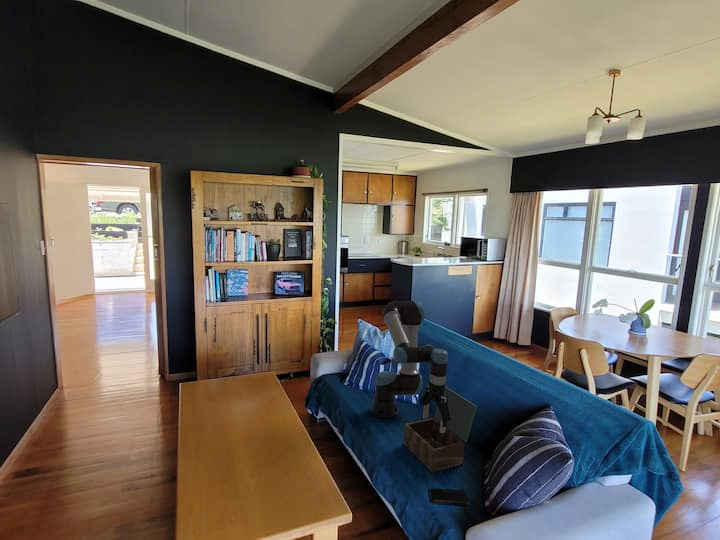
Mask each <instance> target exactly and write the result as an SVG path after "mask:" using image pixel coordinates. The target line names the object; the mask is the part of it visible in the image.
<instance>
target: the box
mask: <svg viewBox="0 0 720 540" xmlns="http://www.w3.org/2000/svg"><path fill="white" fill-rule="evenodd" d="M403 431H404V433H403V446H405V447H406V448H407V449H408V450H409V451H410V452H411V454H413V455H414V456H415V457H416V458H417V459H418V461H420V462H421V464H423V465H424V466H425V467H426V468H427V470H429V472H431V473H432V474H433V473H437V472H439V471H440V472H441V471H444V470H447V469H446V468H448V469H450V468H449V467H451V468H454V467H453V466H455V467H458V466H461V464H462V465H463V463H464V455H465V454H464V453H465V442H464V441H463V440H462V439H461V438H459V437H458V436H457V435H455V434H454V433H453V432H452V431H450V430H449V429H448V428H446V432H444V433H440V422H439V421H438V420H436V419H435V418H434V417H433V418H426V419H423V420H418V421H414V422H407V423H405V424H404V430H403ZM432 438H433V439H434V440H435V441H437V442H439V443H441V445H444V446H443V447H440V448H436V449H434V448H433V447H432V446H431V445H430V444H429V443H427V441H430V440H431V439H432ZM457 465H458V466H457ZM443 469H444V470H443Z"/></svg>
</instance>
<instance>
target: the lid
mask: <svg viewBox="0 0 720 540" xmlns="http://www.w3.org/2000/svg"><path fill="white" fill-rule="evenodd" d="M443 397H444V398H447V399H448V408H449V413H450V418H451V420H449V421H447V426H446V429H448V430H449V431H450V432H451V433H453V434H454V435H455V436H457V437H458V438H459V439H460V440H462V441H463V442H464V443H467V442H468V440H469V439H468V438H469V436H470V432H471V429H472V425H473V422H474V419H475V416H476V412H477V408H478V406H477V405H475V404H474V403H472V402H470V401H469V400H467V399H466V398H465V397H463V396H461V395H460V394H459V393H456V392H455V391H454V390H452V389H450V388H449V387H447V386H446V385H445V392H444V393H443ZM439 403H441V402H439ZM433 418H434V419H435V420H436V421H438V422H439V423H441V419H442V417H441V414H440V411H439V408H438V406H437V405H436V409H435V412H434V416H433Z"/></svg>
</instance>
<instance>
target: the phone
mask: <svg viewBox="0 0 720 540" xmlns="http://www.w3.org/2000/svg"><path fill="white" fill-rule="evenodd" d="M428 494H429V498H430V502H431V503H432V504H441V505H442V504H443V505H455V506H456V505H457V506H465V507H466V506H467V507H468V506H469V505H470V501H469V498H468V494H467V492H466V491H465V490H462V489H451V488H450V489H449V488H435V487H430V488H428Z"/></svg>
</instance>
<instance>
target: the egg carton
mask: <svg viewBox="0 0 720 540" xmlns="http://www.w3.org/2000/svg"><path fill="white" fill-rule="evenodd" d="M427 443H429V444H430V445H431V446H432V447H433V448H434V449H436V448H440V447H443V446H444V445H441V443H439V442H437V441H435V440H434V439H433V438H432V439H431V440H430V441H427Z"/></svg>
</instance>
